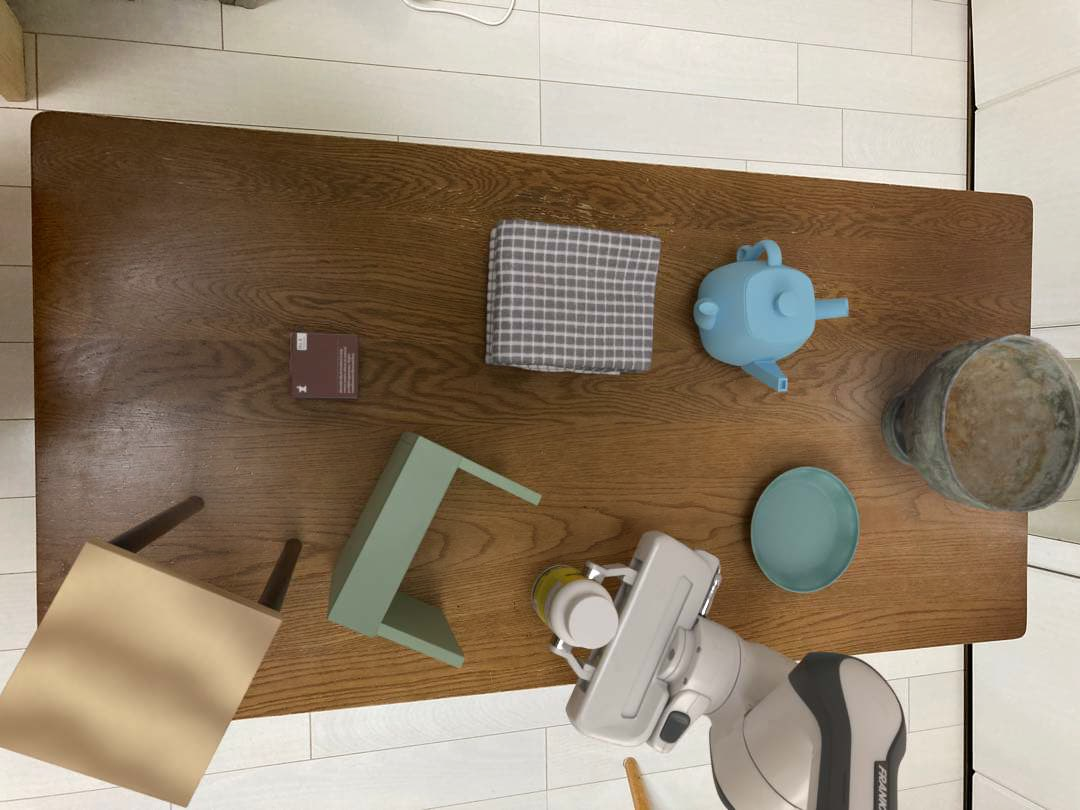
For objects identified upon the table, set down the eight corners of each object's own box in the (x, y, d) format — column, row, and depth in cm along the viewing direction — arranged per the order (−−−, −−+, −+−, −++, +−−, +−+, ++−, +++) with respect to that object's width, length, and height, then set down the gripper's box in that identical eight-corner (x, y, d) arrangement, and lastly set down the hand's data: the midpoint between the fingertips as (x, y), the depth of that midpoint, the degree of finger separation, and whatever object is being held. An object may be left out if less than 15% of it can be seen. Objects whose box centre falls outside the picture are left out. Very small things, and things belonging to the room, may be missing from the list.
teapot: (729, 407, 83) (787, 406, 72) (652, 321, 81) (700, 307, 70) (808, 318, 86) (876, 304, 75) (736, 233, 84) (795, 205, 73)
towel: (484, 229, 76) (499, 208, 68) (643, 243, 80) (674, 225, 73) (481, 371, 75) (496, 366, 68) (641, 376, 80) (672, 373, 73)
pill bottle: (597, 581, 74) (639, 608, 64) (567, 633, 73) (604, 670, 63) (549, 552, 73) (584, 575, 62) (518, 605, 72) (548, 637, 62)
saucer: (752, 603, 84) (765, 609, 81) (727, 482, 83) (739, 484, 80) (855, 568, 87) (871, 573, 85) (832, 452, 87) (847, 453, 84)
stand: (191, 795, 43) (186, 808, 42) (-12, 728, 41) (-26, 739, 39) (284, 613, 45) (282, 620, 44) (94, 536, 42) (85, 541, 41)
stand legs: (248, 651, 69) (190, 791, 43) (130, 605, 66) (-7, 726, 41) (305, 541, 71) (280, 615, 45) (191, 492, 68) (96, 541, 42)
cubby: (438, 618, 74) (463, 675, 58) (331, 573, 71) (326, 619, 55) (505, 479, 76) (547, 497, 60) (403, 430, 73) (419, 435, 57)
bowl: (982, 357, 93) (1099, 347, 78) (968, 505, 92) (1084, 522, 77) (855, 334, 88) (955, 318, 73) (839, 490, 87) (937, 505, 72)
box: (357, 401, 72) (358, 400, 65) (294, 400, 70) (288, 398, 63) (358, 341, 72) (359, 333, 65) (296, 339, 70) (290, 331, 63)
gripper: (745, 568, 69) (626, 509, 66) (660, 771, 66) (531, 719, 63) (713, 556, 75) (602, 501, 72) (633, 741, 72) (515, 693, 69)
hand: (568, 605), depth 67 cm, fingers closed on pill bottle, 6 cm apart
